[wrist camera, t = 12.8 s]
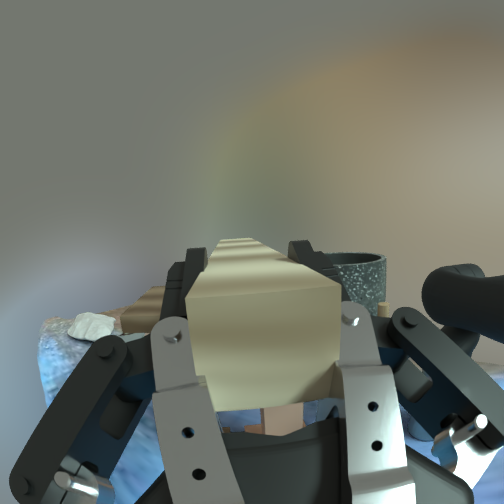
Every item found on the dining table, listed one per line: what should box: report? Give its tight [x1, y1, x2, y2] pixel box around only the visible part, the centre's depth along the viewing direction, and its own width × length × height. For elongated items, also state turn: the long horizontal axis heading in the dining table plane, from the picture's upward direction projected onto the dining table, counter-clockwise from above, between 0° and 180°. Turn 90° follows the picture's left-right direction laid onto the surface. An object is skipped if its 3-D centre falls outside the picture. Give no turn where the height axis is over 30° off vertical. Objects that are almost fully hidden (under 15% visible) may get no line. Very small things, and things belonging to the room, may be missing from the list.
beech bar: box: [185, 238, 341, 411], centre depth 19 cm, size 26×3×3 cm, turn 5°
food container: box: [115, 333, 145, 343], centre depth 82 cm, size 12×6×10 cm, turn 153°
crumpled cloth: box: [67, 312, 116, 342], centre depth 100 cm, size 24×35×9 cm
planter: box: [324, 252, 389, 317], centre depth 65 cm, size 22×22×32 cm
